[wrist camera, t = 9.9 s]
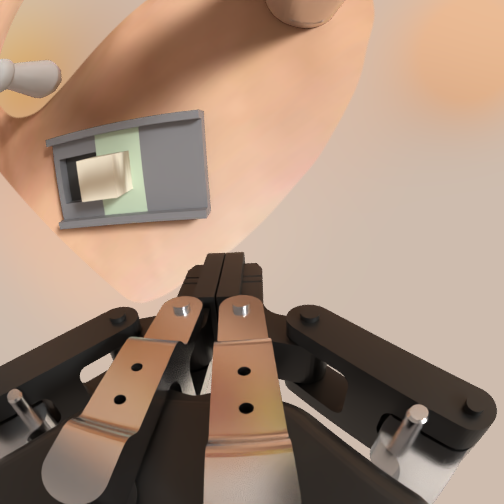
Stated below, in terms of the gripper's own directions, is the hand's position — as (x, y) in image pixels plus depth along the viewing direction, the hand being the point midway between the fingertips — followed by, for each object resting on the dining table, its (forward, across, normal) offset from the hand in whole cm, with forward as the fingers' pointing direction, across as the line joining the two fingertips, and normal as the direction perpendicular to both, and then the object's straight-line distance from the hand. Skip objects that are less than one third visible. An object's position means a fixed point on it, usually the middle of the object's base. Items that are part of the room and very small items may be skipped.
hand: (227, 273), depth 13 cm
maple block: (+25, +17, -2) cm, 30 cm away
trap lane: (+27, +16, -2) cm, 31 cm away
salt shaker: (+27, +28, -18) cm, 43 cm away
